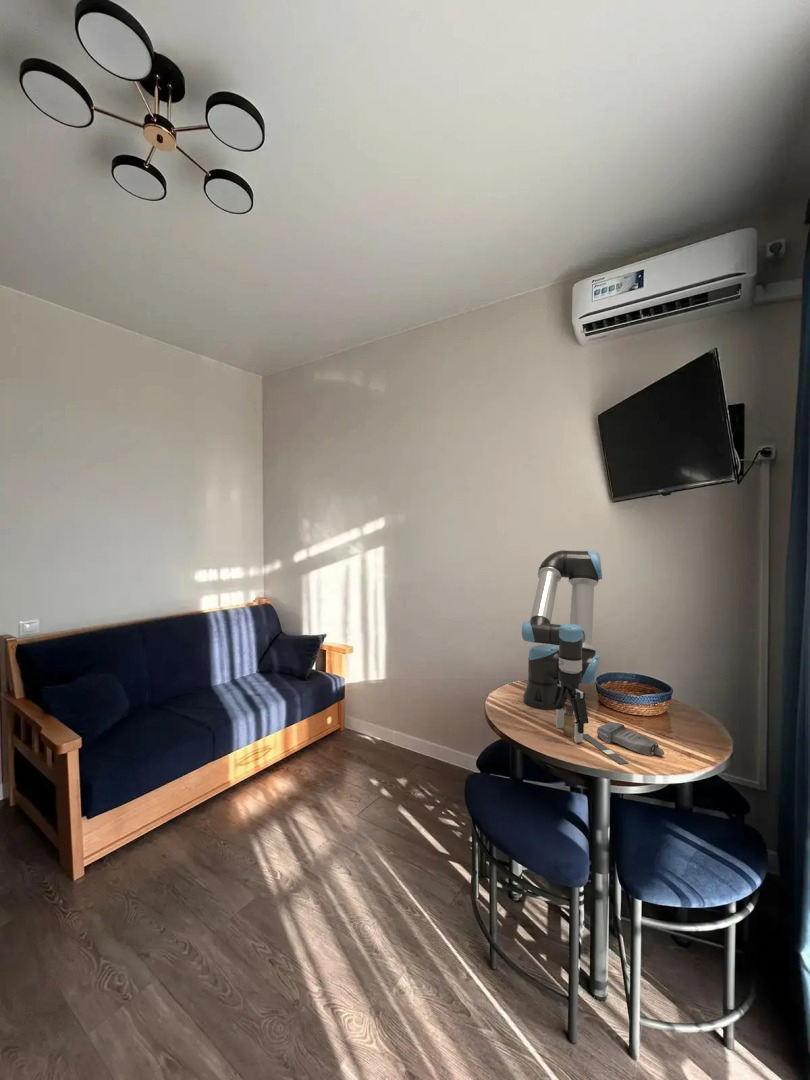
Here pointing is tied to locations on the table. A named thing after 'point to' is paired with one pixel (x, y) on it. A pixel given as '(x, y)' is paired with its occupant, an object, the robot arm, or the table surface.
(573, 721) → the tan bottle
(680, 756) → the table surface
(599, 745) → the strip
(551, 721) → the table surface
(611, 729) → the handheld device
